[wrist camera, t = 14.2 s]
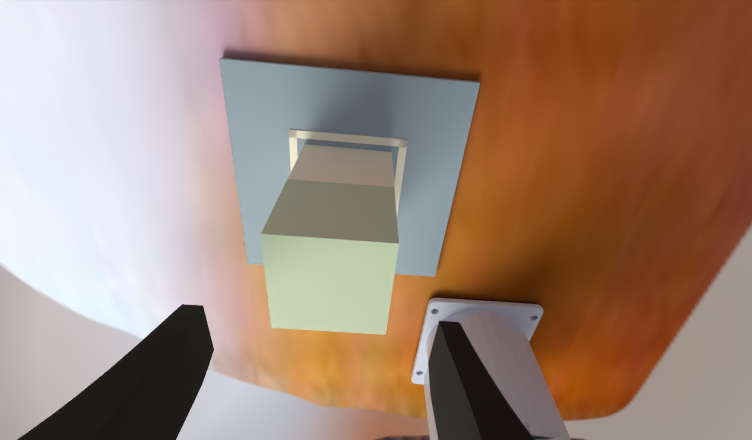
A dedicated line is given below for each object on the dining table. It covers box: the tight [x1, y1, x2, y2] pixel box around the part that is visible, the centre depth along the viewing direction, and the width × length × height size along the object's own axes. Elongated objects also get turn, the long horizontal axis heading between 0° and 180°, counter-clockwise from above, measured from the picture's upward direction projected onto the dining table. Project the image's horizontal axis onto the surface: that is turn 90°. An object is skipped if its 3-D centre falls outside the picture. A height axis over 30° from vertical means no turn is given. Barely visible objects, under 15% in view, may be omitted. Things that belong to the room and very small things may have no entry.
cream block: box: [288, 144, 395, 190], centre depth 18 cm, size 4×4×4 cm
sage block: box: [261, 179, 399, 335], centre depth 14 cm, size 4×4×4 cm
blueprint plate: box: [219, 57, 480, 277], centre depth 20 cm, size 12×12×1 cm
